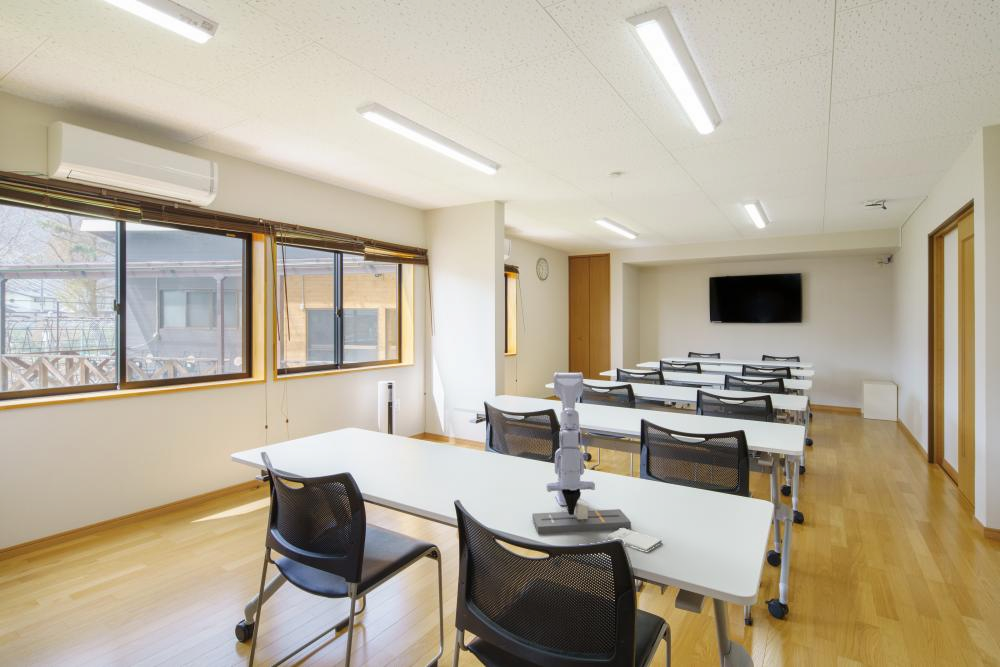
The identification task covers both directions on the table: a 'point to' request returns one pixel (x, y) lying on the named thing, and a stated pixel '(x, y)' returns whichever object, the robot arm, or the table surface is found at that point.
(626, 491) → the table surface
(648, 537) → the external hard drive
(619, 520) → the console
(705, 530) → the table surface
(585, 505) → the fader tab
